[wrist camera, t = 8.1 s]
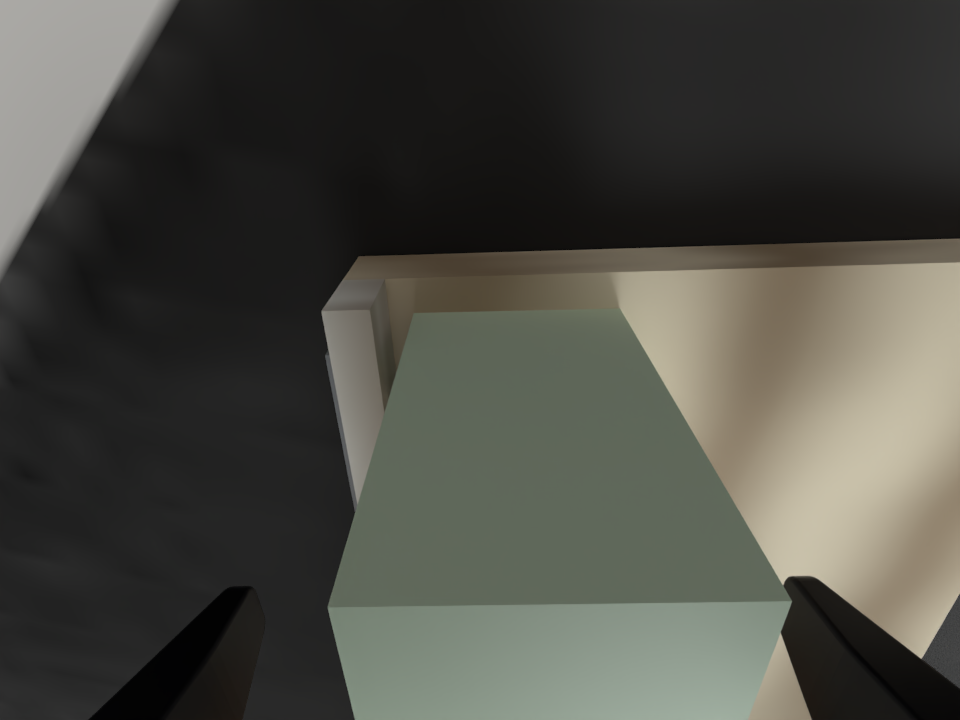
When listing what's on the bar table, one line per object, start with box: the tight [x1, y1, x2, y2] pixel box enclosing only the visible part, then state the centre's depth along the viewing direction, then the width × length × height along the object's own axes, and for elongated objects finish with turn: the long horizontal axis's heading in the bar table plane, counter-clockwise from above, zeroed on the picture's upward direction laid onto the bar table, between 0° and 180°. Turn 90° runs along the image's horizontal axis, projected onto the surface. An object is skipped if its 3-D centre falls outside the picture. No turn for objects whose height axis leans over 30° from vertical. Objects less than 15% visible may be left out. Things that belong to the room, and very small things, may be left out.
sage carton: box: [328, 308, 792, 720], centre depth 9 cm, size 4×8×6 cm, turn 2°
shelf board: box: [321, 239, 960, 720], centre depth 14 cm, size 15×19×3 cm
